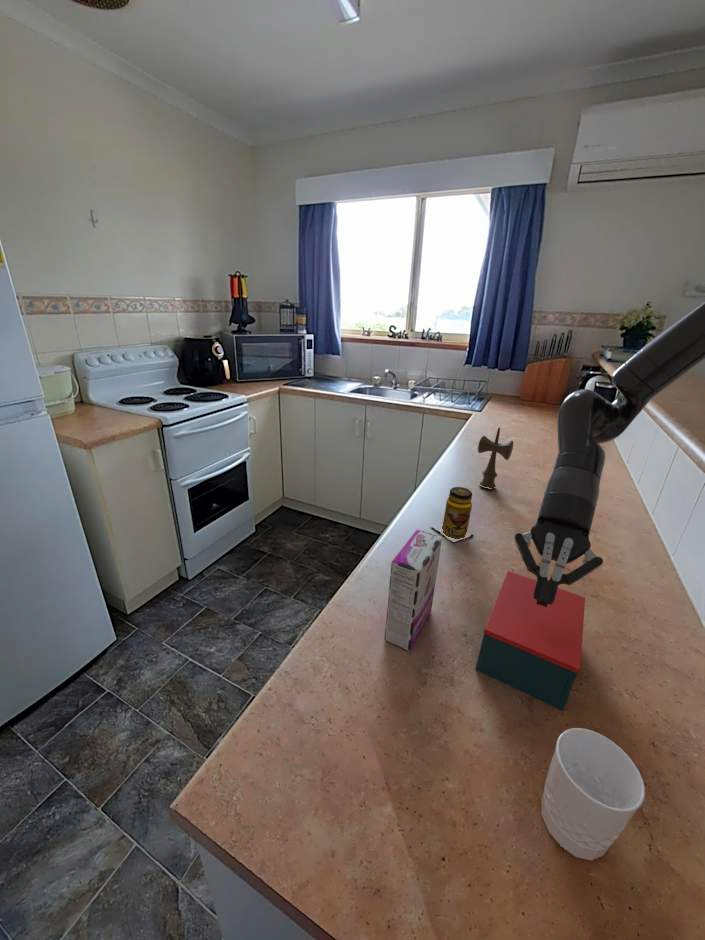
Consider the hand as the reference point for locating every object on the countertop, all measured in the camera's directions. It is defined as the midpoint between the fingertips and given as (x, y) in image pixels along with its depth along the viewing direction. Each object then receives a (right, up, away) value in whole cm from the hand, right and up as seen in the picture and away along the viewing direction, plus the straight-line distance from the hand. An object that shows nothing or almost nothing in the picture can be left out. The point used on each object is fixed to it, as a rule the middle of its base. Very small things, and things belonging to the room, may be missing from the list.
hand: (541, 604), depth 59 cm
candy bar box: (-18, -8, +11) cm, 23 cm away
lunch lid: (+1, -3, +4) cm, 5 cm away
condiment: (-3, +4, +42) cm, 42 cm away
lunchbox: (+1, -10, +7) cm, 13 cm away
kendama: (+15, +14, +68) cm, 71 cm away
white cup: (-4, -19, -15) cm, 25 cm away
